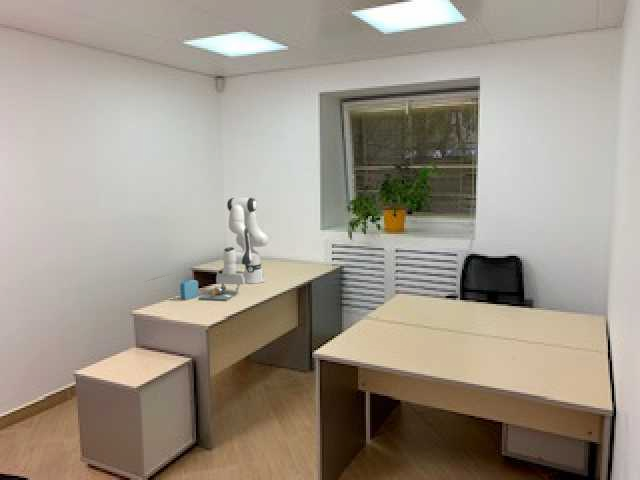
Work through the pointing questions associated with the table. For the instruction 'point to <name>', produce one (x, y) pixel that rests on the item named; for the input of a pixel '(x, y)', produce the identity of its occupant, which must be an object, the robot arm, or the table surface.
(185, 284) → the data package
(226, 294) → the stand
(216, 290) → the bar with grey ball
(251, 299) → the table surface
